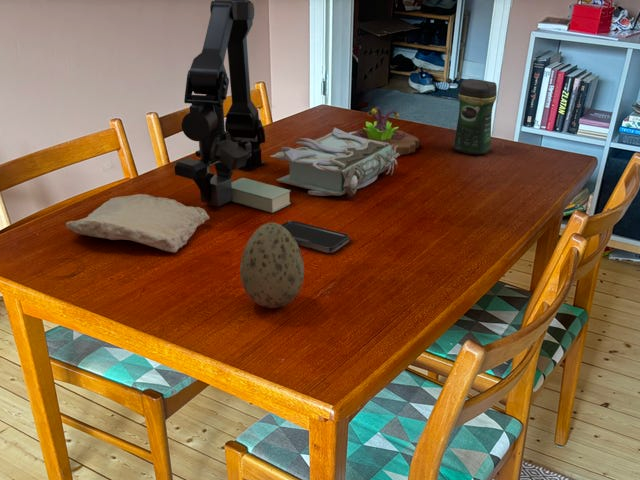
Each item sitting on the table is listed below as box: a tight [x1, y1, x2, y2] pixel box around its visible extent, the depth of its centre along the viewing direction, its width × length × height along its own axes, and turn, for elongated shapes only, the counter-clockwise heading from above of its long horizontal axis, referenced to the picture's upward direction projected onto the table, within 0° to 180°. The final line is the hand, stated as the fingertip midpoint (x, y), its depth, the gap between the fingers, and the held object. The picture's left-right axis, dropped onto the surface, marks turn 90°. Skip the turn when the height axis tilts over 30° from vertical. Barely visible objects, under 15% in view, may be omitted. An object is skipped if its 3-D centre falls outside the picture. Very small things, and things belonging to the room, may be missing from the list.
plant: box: [351, 106, 420, 156], centre depth 201 cm, size 20×20×11 cm
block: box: [199, 173, 232, 208], centre depth 165 cm, size 5×5×5 cm
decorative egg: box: [239, 222, 305, 309], centre depth 125 cm, size 11×11×15 cm
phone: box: [280, 220, 350, 254], centre depth 152 cm, size 8×1×15 cm
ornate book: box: [270, 126, 401, 198], centre depth 181 cm, size 23×10×30 cm
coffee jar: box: [453, 78, 498, 156], centre depth 198 cm, size 10×8×19 cm
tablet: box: [65, 193, 210, 254], centre depth 151 cm, size 24×8×20 cm
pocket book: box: [231, 177, 292, 214], centre depth 168 cm, size 14×7×3 cm, turn 56°
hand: (216, 197), depth 166 cm, fingers closed on block, 5 cm apart
